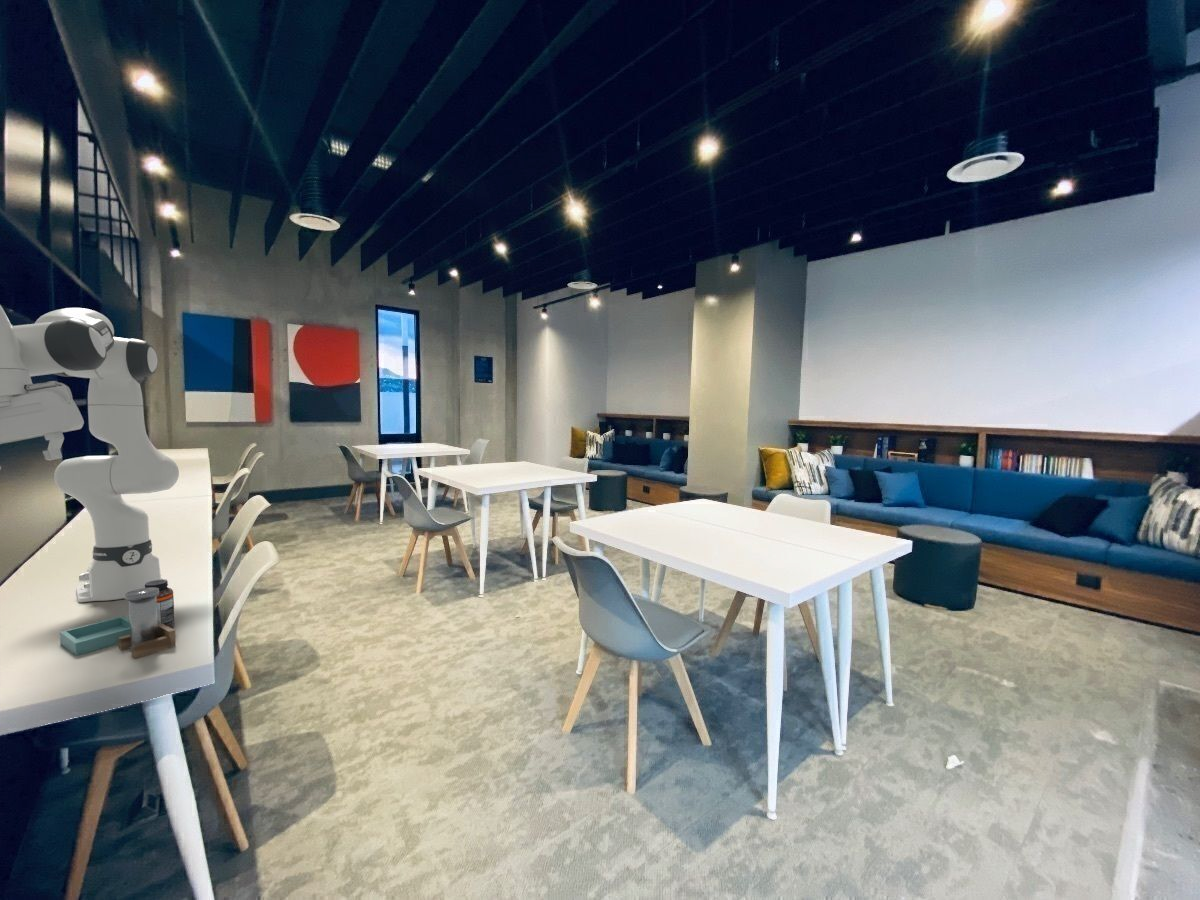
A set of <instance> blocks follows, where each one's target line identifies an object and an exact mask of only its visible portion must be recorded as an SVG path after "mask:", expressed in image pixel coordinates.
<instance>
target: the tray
mask: <svg viewBox="0 0 1200 900" xmlns="http://www.w3.org/2000/svg"><path fill="white" fill-rule="evenodd" d="M126 635H130V619H129V617H127V616H125V615H122V616H121V615H120V616H118V617H113V618H109V619H106V620H102V621H96V622H94V623H89V624H86V625H82V626H81V625H80V626H77V627H73V628H70V629H66V630H62V631H59V643H60V645H62V646H63V647H65V649H67V650H68V651H69V652H70V653H72V654H74V655H75V656H80V655H82V654H85V653H89V652H93V651H96V650H100V649H104V648H107V647H111V646H114V645H117V644H118V645H119V640H118V638H119V637H122V636H126Z"/></svg>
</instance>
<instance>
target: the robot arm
mask: <svg viewBox="0 0 1200 900" xmlns="http://www.w3.org/2000/svg"><path fill="white" fill-rule="evenodd" d="M114 335H115V329H114V325H113V324H112V322H111V320H110V319H109V318H108V317H107V316H105V315H104V314H103V313H100V312H98V311H96V310H94V309H93V310H92V309H89V308H84V307H83V308H82V307H65V308H60V309H55V310H52V311H49V312H47V313H44V314H43V315H40V316H39V318H37V319H36V321H35V322H34V323H31V324H30V323H27V324H18V325H13V324H11V321H10V320H9V318H8V316H7V314H6V312H5V310H4V308H3V306H2V305H1V304H0V445H2V444H8V443H13V442H14V443H15V442H19V441H24V440H25V441H26V440H29V439H35V438H39V437H40V438H41V437H44V439H45V441H48V446H47V450H43V451H42V455H43V456H44V459H45V461H54V460H59V459H62V458H63V456H62V452H61V448H62V447H63V446H62V445H63V443H64V440H65V436H64V434H63V433H68V432H72V431H77V430H78V431H79V430H81V429H82V428H83V427H84V424H85V421H84V418H83V416H82V414H81V411H80V410H79V407H78V406H77V404H76V402H75V401H74V399H73V394H72V391H71V389H70V387H69V386H68V385H67V384H65V383H62V382H59V381H58V380H50V381H49V380H48V381H46V382H40V383H39V382H38V383H33V381H32V377H36V376H37V377H39V376H45V375H55V376H60V377H67V378H71V377H75V378H83V379H89V383H88V389H87V390H88V391H87V414H88V430H89V432H90V434H91V435H92V437H93V436H94V437H95V438H96V439H98V440H99V441H101V442H105V443H108V444H110V445H112V446H113V447H114V448H115V449H116V451H117V453H118V455H117V454H116V455H115V454H114V455H113V454H112V455H111V454H110V455H85V456H79V457H72V458H68V459H64V460H62V462H60V463H59V464H58V466H56V468H55V470H54V474H53V481H54V483H55V485H56V487H57V488H58V489H59V490H60V491H61V492H62V493H64V494H66V495H69V496H70V497H72V498H74V499H75V500H77V501H78V502H79V503H80V504H81V505H82V506H83V507H84V508H85V509H86V511H87V512H88V514H89V516H90V518H91V521H92V522H91V523H92V527H93V534H94V543H95V544H94V546H93V548H92V559H93V561H92V562H91V563H90V564H89V566H88V567H87V569H86V572H83V573H79V574H78V578H79V579H78V581H79V583H83V582H84V583H83V584H82V585H78V586H76V587H75V588H76V589H75V591H76V597H77V601H78V603H85V602H86V603H88V602H97V601H103V602H105V601H113V600H114V601H115V600H121V599H125V594H126V593H128V592H130V591H133V590H137V589H142V588H145V583H147V582H150V581H154V580H167V581H168V579H166V578H162V575H161V568H160V566H161V565H160V559H159V557H158V556H156V555H154V554H153V553H152V552H153V543H152V540H151V539H150V528H149V516H148V514H147V513H146V511H144V510H143V509H142V508H139V507H136V506H134V505H130V504H128V503H127V502H125V500H124V499H123V498H122V495H135V494H137V495H138V494H139V495H140V494H153V493H157V492H162V491H168V490H170V489H172V488H173V487H174V486H175V484H176V483H177V482H178V479H179V476H180V470H179V467H178V464H177V463H176V462H175V461H174V460H173V459H172V458H171V457H169V456H167V455H165V454H164V453H163V452H161V451H160V450H158V448H156V446H154V445H153V443H152V442H151V440H150V438H149V436H148V434H147V430H146V423H145V416H144V398H143V392H142V388H141V384H142V383H143V382H144V380H146V379H148V378H151V376H152V375H154V374H155V373H156V370H157V365H158V357H157V353H156V351H155V348H154V347H153V346H152V345H151V343H149V342H147V341H146V340H142V339H137V338H124V337H117V336H114ZM1 469H2V466H1V465H0V471H1ZM85 582H86V583H85Z"/></svg>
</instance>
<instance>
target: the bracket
mask: <svg viewBox="0 0 1200 900" xmlns="http://www.w3.org/2000/svg"><path fill="white" fill-rule="evenodd" d="M157 622H158V621H157ZM118 640H119V643H118V649H119V650H121V651H123V650H126V649H129V648H130V649H131V638H130V635H126V636H122V637H119V638H118ZM173 647H176V630H175V629H174V628H172V627H171V628H170V627H168V626H166V625H164V624H162V623H160V622H158V638H157V639H153V640H150V641H146V642H143V643H140V644H136V645H133V646H132V652H131V657H132V658H133V659H134V660H135V659H139V658H142V657H145V656H148V655H151V654H155V653H158V652H161V651H164V650H168V649H171V648H173Z"/></svg>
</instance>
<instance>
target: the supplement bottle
mask: <svg viewBox="0 0 1200 900" xmlns="http://www.w3.org/2000/svg"><path fill="white" fill-rule="evenodd" d="M168 583H169V582H168V579H167V580H154V581H150V582H147V583H145V588H151V587H155V588H159V594H158V595H157V596H156V601H157V621H158V622H160V623H162V624H164V625H166V626H168V627H170V628H172V627H173V626H174V625H175V604H174V603H175V601H174V590H173V589H172V588H171V587H168V586H169V584H168Z"/></svg>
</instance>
